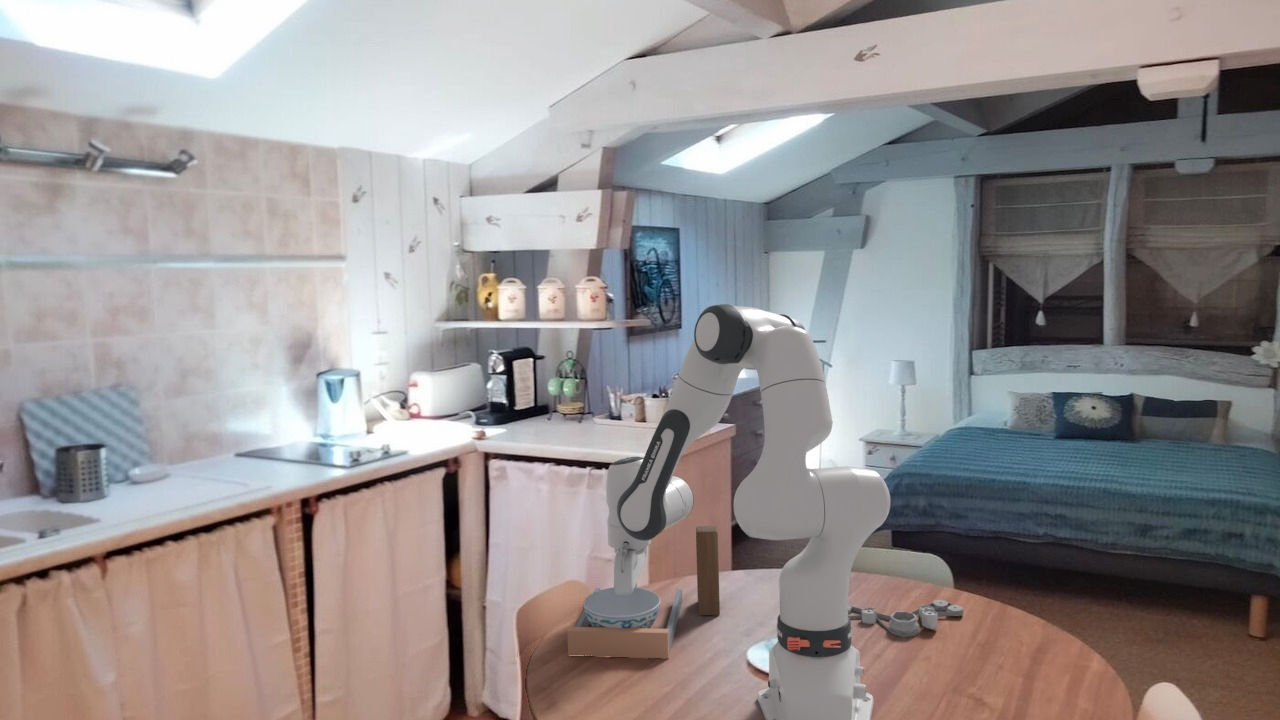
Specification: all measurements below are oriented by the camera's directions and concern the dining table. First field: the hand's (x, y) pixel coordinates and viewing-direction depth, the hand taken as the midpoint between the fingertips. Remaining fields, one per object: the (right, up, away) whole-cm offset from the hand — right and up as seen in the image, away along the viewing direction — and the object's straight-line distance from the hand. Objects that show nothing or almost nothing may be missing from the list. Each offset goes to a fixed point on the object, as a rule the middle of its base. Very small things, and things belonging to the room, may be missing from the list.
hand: (631, 600), depth 188 cm
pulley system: (+54, -4, -5) cm, 54 cm away
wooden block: (+16, -3, +6) cm, 18 cm away
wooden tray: (0, -5, -3) cm, 5 cm away
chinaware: (-1, -5, -9) cm, 11 cm away
